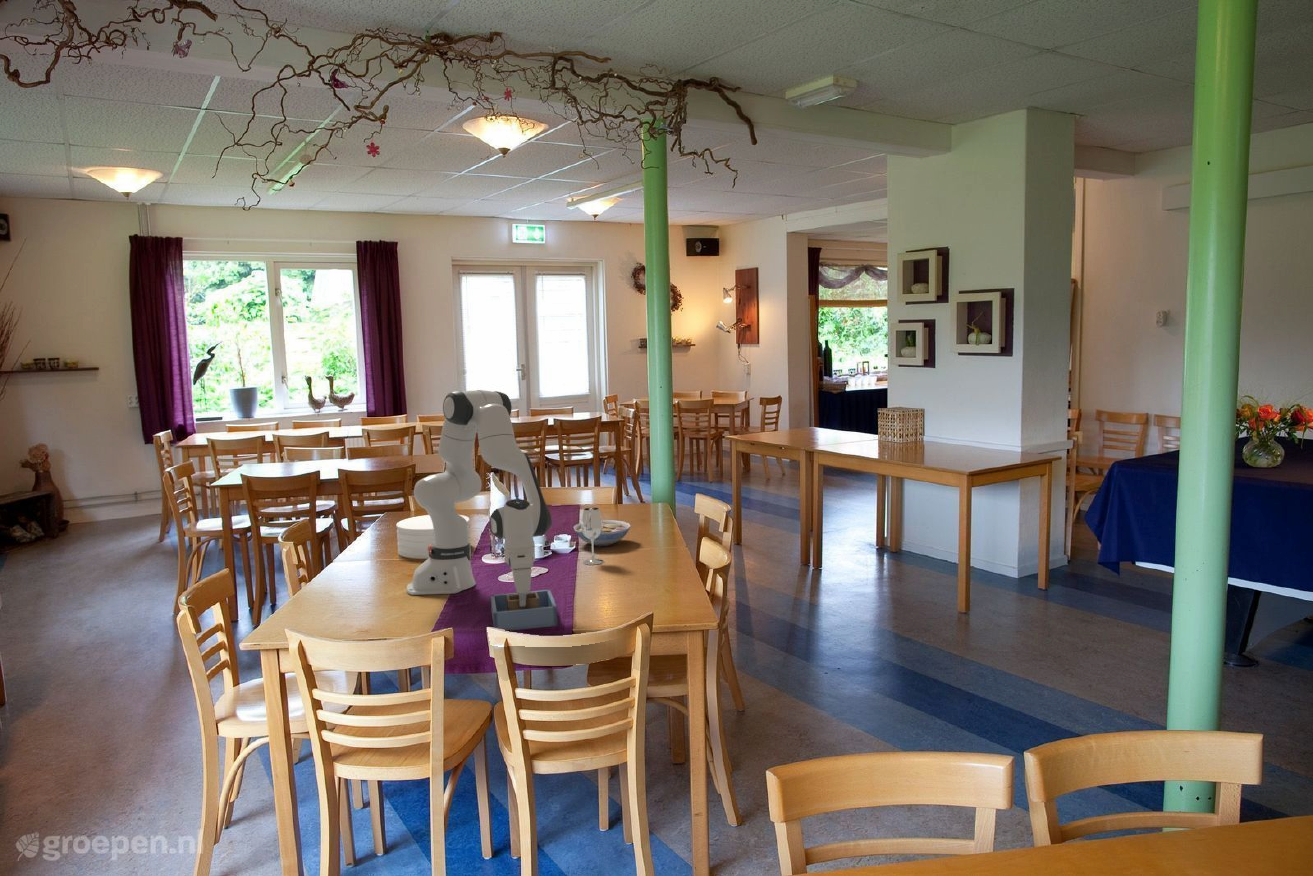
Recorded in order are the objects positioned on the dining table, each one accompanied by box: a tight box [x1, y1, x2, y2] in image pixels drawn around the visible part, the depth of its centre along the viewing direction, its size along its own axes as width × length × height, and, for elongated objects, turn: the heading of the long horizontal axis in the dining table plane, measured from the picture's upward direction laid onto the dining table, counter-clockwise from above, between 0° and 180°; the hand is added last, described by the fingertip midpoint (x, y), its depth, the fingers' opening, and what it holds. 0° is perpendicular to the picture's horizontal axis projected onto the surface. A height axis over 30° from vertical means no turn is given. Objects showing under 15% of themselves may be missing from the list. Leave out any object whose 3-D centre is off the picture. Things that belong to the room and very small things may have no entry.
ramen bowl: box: [573, 519, 632, 547], centre depth 346 cm, size 25×23×8 cm
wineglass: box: [581, 506, 604, 566], centre depth 318 cm, size 8×8×20 cm
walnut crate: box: [507, 592, 539, 611], centre depth 257 cm, size 9×6×6 cm, turn 103°
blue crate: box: [490, 589, 559, 631], centre depth 258 cm, size 18×18×6 cm
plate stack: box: [395, 514, 472, 559], centre depth 345 cm, size 28×28×12 cm
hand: (521, 600), depth 257 cm, fingers open, 8 cm apart
